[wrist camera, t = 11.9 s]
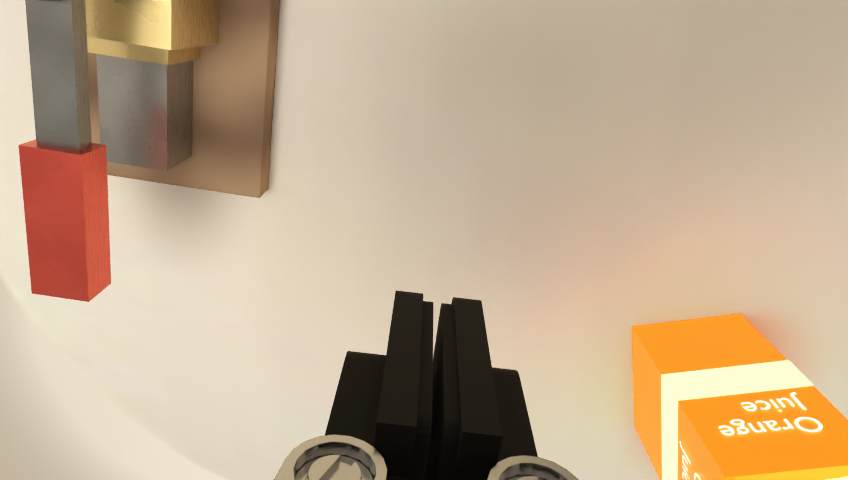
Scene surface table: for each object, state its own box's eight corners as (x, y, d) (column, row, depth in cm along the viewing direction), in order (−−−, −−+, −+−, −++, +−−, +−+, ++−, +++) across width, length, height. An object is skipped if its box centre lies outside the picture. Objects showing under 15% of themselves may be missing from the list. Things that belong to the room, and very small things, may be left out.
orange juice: (632, 427, 45) (772, 722, 26) (629, 325, 42) (785, 578, 23) (738, 415, 44) (958, 709, 26) (743, 311, 41) (997, 560, 23)
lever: (105, -78, 24) (64, -89, 21) (117, 284, 29) (85, 310, 27) (24, -92, 23) (-28, -105, 21) (51, 274, 29) (13, 300, 27)
